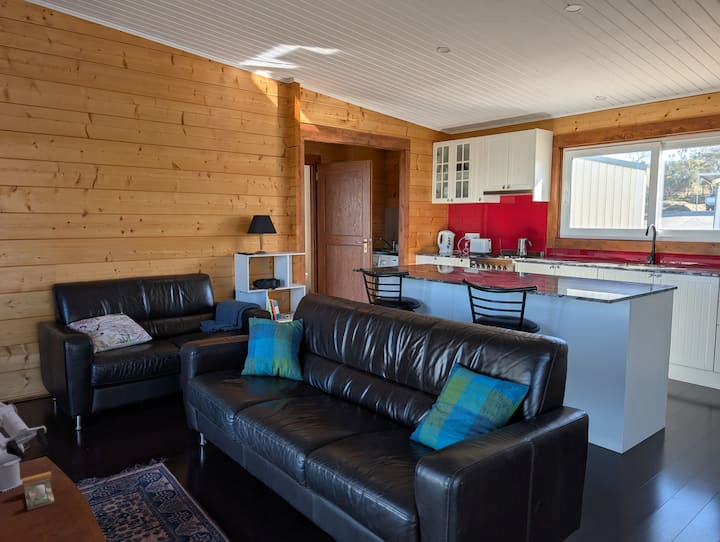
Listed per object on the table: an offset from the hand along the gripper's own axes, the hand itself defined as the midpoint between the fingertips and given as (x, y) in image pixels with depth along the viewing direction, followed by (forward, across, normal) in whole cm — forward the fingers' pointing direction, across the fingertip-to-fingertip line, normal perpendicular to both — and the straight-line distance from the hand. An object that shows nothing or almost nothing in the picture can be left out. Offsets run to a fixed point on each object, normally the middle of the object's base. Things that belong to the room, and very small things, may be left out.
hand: (35, 451), depth 183 cm
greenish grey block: (+9, -2, +15) cm, 18 cm away
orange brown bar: (-1, +1, +16) cm, 16 cm away
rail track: (+5, -1, +18) cm, 19 cm away
